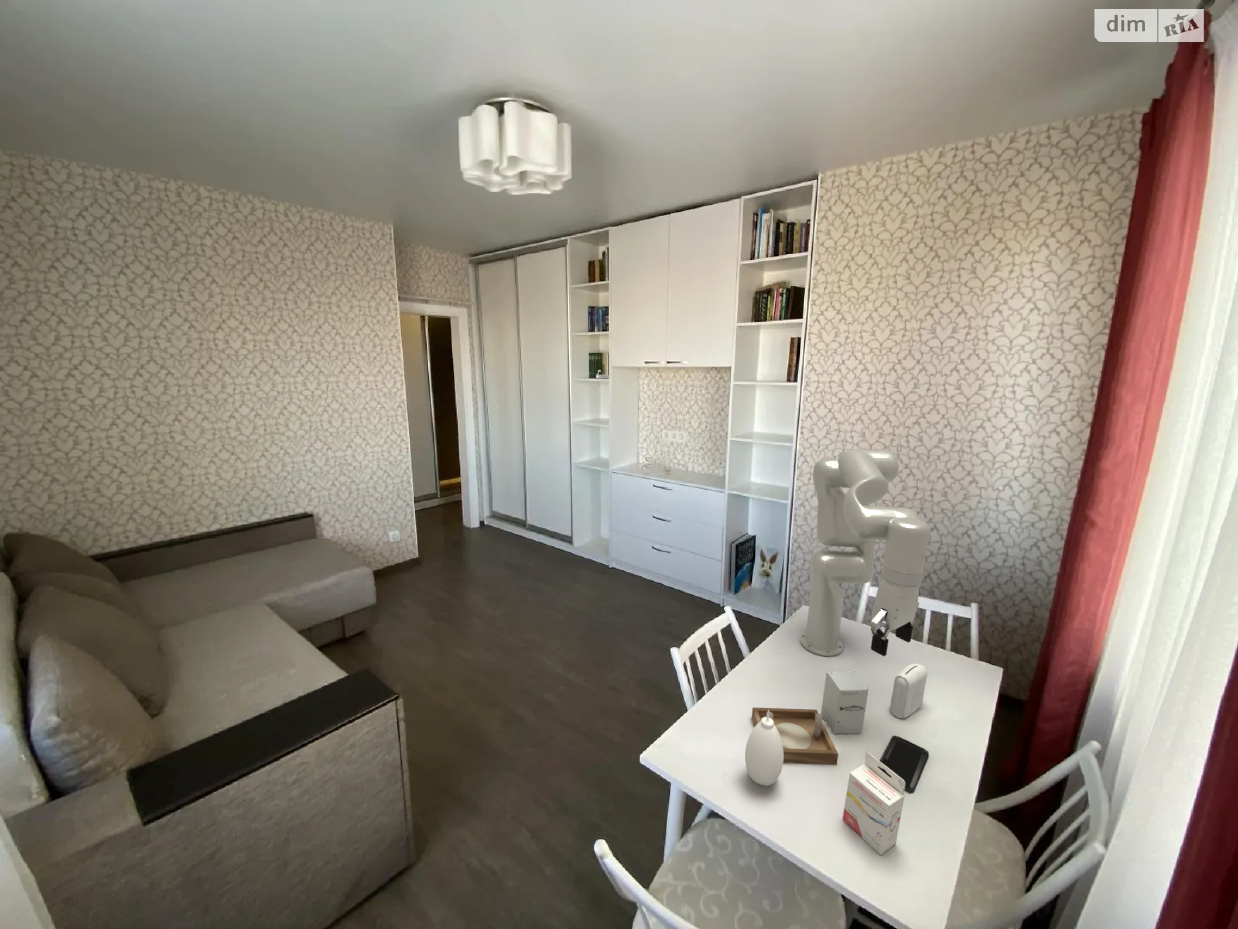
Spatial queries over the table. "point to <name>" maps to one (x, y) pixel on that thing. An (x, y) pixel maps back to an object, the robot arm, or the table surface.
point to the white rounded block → (908, 690)
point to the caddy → (801, 735)
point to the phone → (905, 761)
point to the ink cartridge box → (874, 804)
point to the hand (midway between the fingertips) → (890, 645)
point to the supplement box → (844, 702)
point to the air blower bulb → (764, 752)
